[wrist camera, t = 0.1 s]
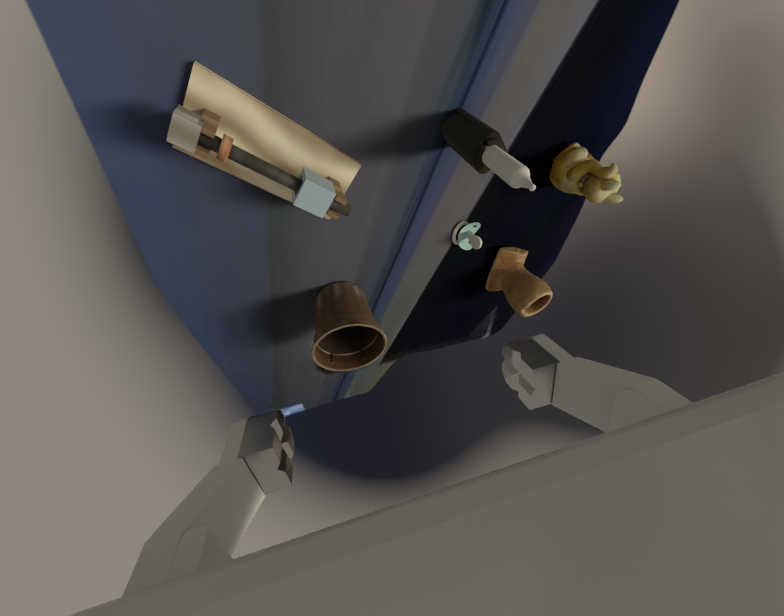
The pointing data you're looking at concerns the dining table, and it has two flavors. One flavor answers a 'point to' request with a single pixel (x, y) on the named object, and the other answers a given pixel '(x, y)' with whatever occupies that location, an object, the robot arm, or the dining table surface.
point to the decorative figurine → (585, 175)
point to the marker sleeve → (314, 193)
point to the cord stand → (254, 140)
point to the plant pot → (345, 329)
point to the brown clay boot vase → (518, 282)
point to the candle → (483, 149)
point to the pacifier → (467, 236)
